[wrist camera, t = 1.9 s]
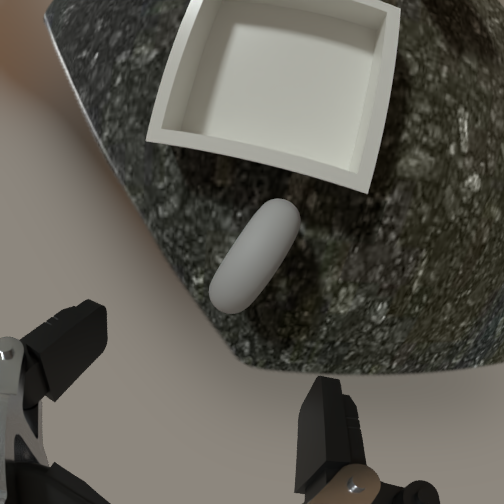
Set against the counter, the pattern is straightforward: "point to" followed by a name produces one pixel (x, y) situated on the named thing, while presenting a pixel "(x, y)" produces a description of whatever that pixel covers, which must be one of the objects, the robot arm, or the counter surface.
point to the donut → (255, 256)
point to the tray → (282, 84)
